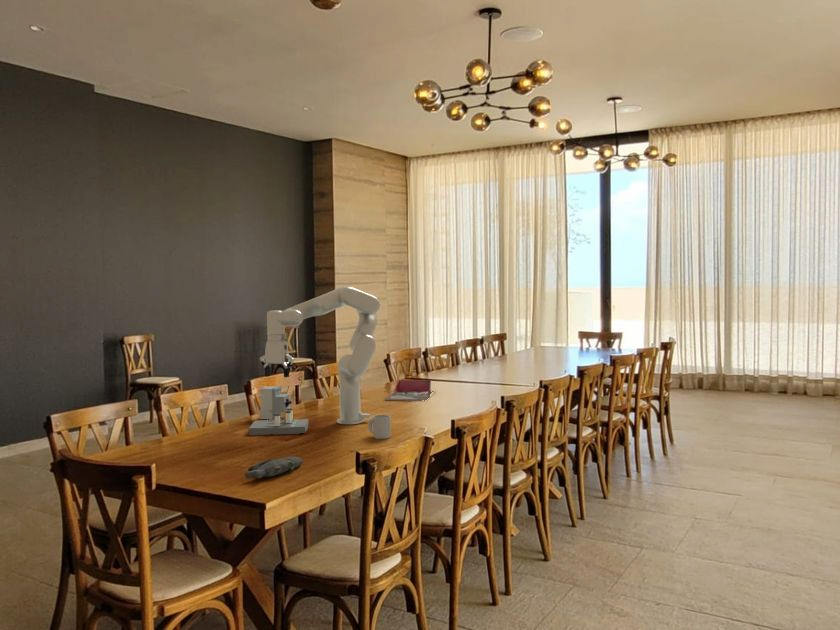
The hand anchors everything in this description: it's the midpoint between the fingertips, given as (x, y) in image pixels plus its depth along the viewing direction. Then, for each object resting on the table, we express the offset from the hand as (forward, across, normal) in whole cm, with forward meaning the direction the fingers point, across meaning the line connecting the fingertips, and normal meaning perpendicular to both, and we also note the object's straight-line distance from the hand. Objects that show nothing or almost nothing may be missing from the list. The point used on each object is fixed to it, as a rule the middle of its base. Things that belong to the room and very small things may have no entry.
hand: (277, 376), depth 311 cm
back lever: (+21, -2, -6) cm, 22 cm away
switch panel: (+24, -1, +1) cm, 24 cm away
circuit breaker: (+24, +16, -22) cm, 36 cm away
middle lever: (+21, -5, -1) cm, 21 cm away
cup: (+24, -49, -2) cm, 55 cm away
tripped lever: (+21, -4, +6) cm, 22 cm away
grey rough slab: (+24, -37, +61) cm, 75 cm away
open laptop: (+25, -20, -103) cm, 108 cm away
